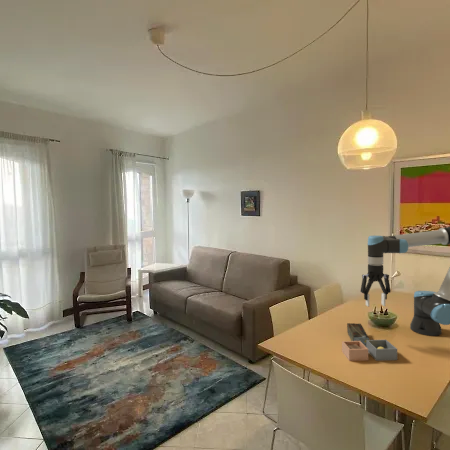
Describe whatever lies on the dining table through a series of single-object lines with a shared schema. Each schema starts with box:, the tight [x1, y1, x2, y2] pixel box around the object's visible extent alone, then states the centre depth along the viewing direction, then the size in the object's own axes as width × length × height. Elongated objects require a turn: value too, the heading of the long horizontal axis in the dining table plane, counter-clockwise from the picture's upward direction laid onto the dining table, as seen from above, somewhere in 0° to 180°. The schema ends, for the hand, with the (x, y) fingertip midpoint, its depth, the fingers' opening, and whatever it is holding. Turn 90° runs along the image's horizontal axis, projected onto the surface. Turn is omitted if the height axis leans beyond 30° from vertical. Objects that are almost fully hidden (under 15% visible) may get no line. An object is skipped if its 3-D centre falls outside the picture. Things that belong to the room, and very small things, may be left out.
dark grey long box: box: [346, 322, 370, 346], centre depth 166 cm, size 8×19×7 cm, turn 167°
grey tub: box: [366, 339, 398, 362], centre depth 148 cm, size 10×10×6 cm
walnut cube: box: [348, 344, 362, 349], centre depth 148 cm, size 4×4×4 cm
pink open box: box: [341, 340, 369, 362], centre depth 148 cm, size 9×9×6 cm
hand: (375, 305), depth 165 cm, fingers open, 8 cm apart
